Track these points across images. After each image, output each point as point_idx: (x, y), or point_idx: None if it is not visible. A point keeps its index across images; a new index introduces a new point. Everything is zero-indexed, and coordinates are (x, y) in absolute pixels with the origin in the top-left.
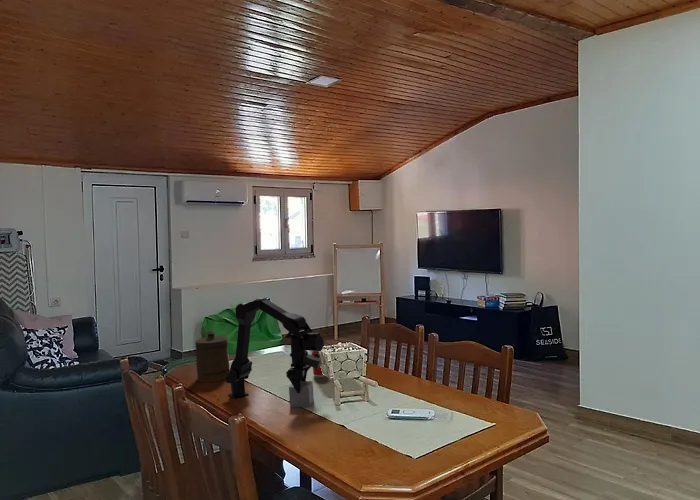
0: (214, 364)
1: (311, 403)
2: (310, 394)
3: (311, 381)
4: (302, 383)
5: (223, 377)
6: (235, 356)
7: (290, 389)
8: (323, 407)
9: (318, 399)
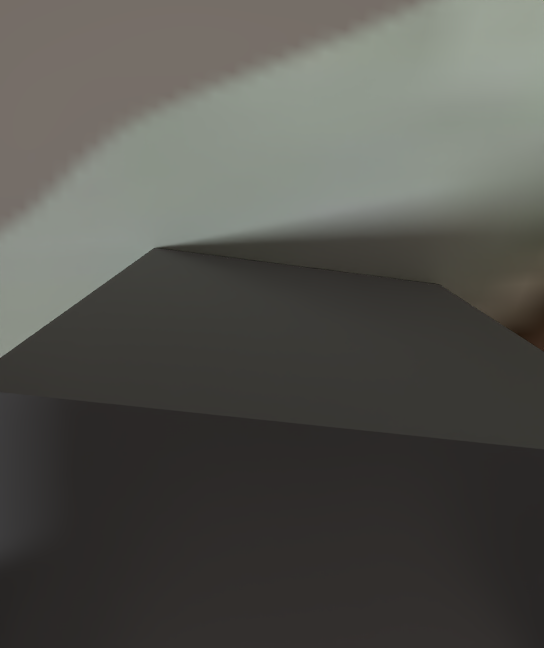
0: None
1: (331, 273)
2: (399, 323)
3: (36, 421)
4: None
5: None
6: None
7: None
8: (528, 67)
9: (106, 176)
